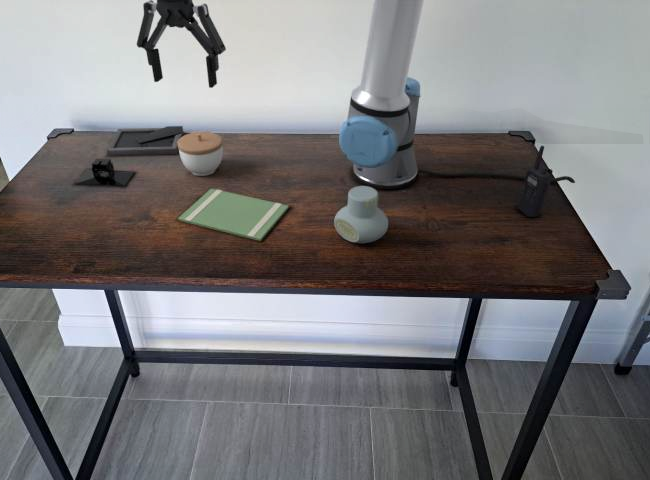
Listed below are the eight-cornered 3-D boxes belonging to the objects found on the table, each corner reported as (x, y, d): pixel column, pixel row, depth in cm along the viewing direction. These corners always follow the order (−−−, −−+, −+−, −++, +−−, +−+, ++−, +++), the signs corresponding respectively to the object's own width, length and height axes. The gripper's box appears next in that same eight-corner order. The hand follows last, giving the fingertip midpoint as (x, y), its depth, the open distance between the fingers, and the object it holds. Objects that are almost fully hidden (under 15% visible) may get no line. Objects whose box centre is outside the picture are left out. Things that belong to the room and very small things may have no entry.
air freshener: (393, 239, 114) (398, 196, 107) (364, 254, 110) (368, 211, 103) (355, 217, 120) (358, 175, 114) (327, 231, 116) (328, 189, 110)
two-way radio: (513, 207, 122) (531, 143, 113) (530, 203, 123) (549, 139, 114) (530, 220, 118) (550, 155, 109) (547, 215, 119) (568, 151, 110)
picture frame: (183, 132, 156) (119, 134, 156) (182, 125, 154) (117, 127, 154) (176, 154, 145) (108, 155, 145) (175, 147, 144) (106, 148, 144)
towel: (288, 208, 124) (288, 205, 123) (260, 241, 114) (260, 238, 114) (211, 190, 130) (211, 187, 130) (178, 220, 121) (177, 217, 120)
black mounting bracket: (75, 185, 134) (70, 167, 131) (87, 170, 139) (82, 153, 136) (125, 186, 133) (120, 169, 130) (135, 172, 138) (131, 154, 135)
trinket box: (228, 160, 142) (225, 125, 136) (220, 181, 134) (216, 144, 128) (187, 159, 143) (182, 124, 137) (176, 179, 135) (171, 143, 129)
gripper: (235, -24, 112) (242, 82, 125) (126, -30, 118) (144, 72, 132) (220, -16, 106) (230, 94, 120) (107, -22, 113) (128, 83, 126)
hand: (185, 82), depth 126 cm, fingers open, 13 cm apart
